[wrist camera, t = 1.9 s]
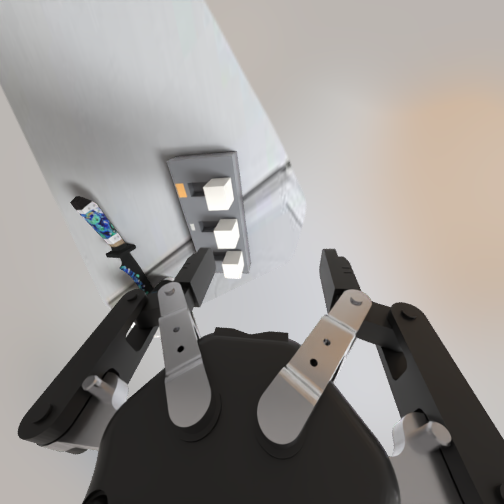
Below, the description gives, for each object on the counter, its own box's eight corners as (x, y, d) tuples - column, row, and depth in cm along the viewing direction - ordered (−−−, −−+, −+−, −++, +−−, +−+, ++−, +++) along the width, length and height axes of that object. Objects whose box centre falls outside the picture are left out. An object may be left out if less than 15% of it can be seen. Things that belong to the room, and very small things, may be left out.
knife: (87, 188, 31) (63, 201, 28) (103, 188, 31) (82, 202, 28) (154, 295, 52) (146, 309, 49) (165, 296, 52) (156, 311, 49)
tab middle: (223, 214, 30) (213, 230, 26) (238, 214, 30) (231, 230, 26) (226, 230, 32) (217, 248, 28) (241, 230, 32) (235, 248, 28)
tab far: (229, 245, 34) (221, 264, 30) (243, 245, 34) (237, 264, 29) (231, 258, 36) (225, 278, 32) (245, 258, 35) (240, 278, 31)
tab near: (215, 175, 27) (203, 187, 23) (233, 174, 26) (224, 186, 22) (219, 196, 29) (208, 210, 25) (236, 195, 28) (228, 210, 24)
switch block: (176, 156, 28) (166, 161, 25) (236, 151, 26) (231, 155, 24) (208, 262, 40) (203, 272, 37) (250, 263, 38) (248, 273, 36)
